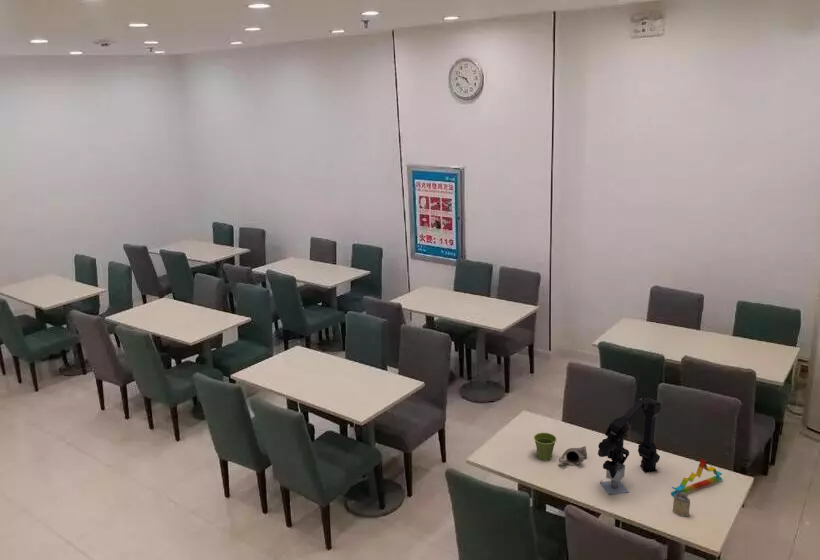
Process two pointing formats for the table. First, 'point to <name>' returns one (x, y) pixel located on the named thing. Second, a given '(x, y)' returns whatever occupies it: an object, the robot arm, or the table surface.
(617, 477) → the collar
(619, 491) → the grey peg stand
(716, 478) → the multicoloured triangular frame
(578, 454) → the animal shaped planter
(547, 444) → the plant pot
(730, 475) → the table surface
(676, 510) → the old metal can
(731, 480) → the table surface
